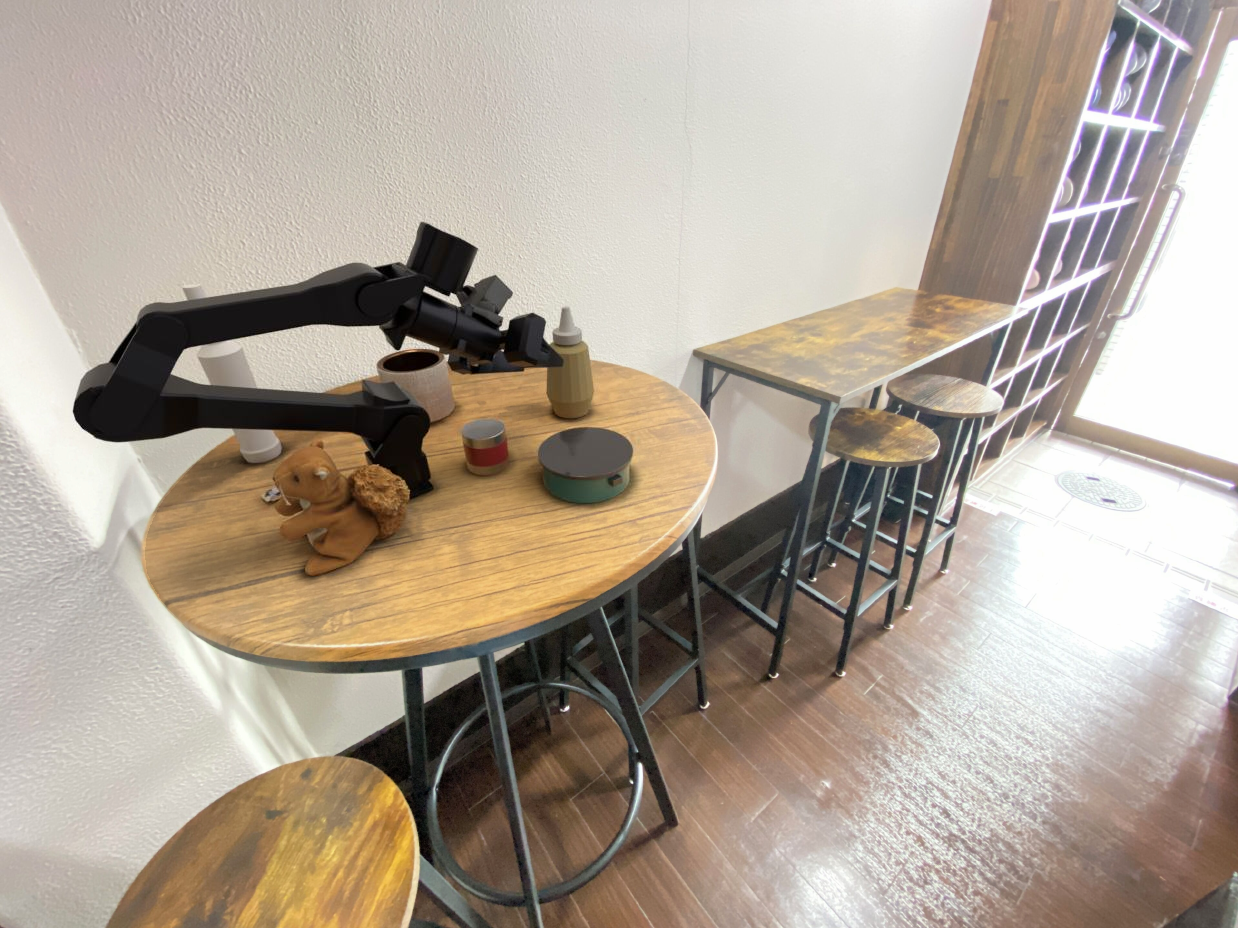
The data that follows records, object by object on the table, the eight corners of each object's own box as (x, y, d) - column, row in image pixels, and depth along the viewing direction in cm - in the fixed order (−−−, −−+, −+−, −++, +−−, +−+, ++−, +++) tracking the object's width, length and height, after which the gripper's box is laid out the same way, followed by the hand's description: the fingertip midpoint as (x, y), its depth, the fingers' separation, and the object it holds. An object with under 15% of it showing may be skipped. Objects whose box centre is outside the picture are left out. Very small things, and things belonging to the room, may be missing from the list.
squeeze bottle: (573, 427, 87) (567, 319, 78) (538, 413, 91) (528, 309, 82) (604, 409, 93) (602, 306, 83) (569, 397, 97) (563, 297, 87)
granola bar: (312, 476, 75) (310, 470, 75) (320, 482, 74) (317, 476, 73) (261, 498, 71) (258, 492, 70) (268, 505, 70) (265, 499, 69)
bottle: (266, 465, 78) (191, 292, 64) (235, 461, 79) (155, 290, 65) (291, 447, 82) (225, 281, 69) (261, 444, 83) (191, 279, 69)
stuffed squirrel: (296, 529, 66) (256, 437, 59) (415, 501, 71) (392, 413, 63) (290, 583, 58) (243, 485, 51) (424, 548, 63) (399, 453, 56)
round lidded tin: (578, 520, 67) (576, 491, 65) (521, 472, 76) (517, 445, 74) (654, 482, 74) (655, 454, 72) (593, 443, 83) (592, 417, 81)
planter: (445, 428, 87) (433, 373, 82) (379, 427, 87) (363, 373, 82) (462, 398, 96) (453, 348, 91) (403, 398, 97) (390, 347, 91)
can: (479, 480, 75) (473, 444, 71) (460, 462, 79) (453, 427, 75) (517, 465, 78) (513, 429, 75) (497, 448, 82) (492, 414, 78)
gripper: (499, 248, 61) (596, 303, 72) (424, 279, 74) (516, 321, 85) (479, 341, 60) (581, 383, 71) (407, 356, 73) (502, 389, 84)
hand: (542, 365), depth 78 cm, fingers open, 9 cm apart
